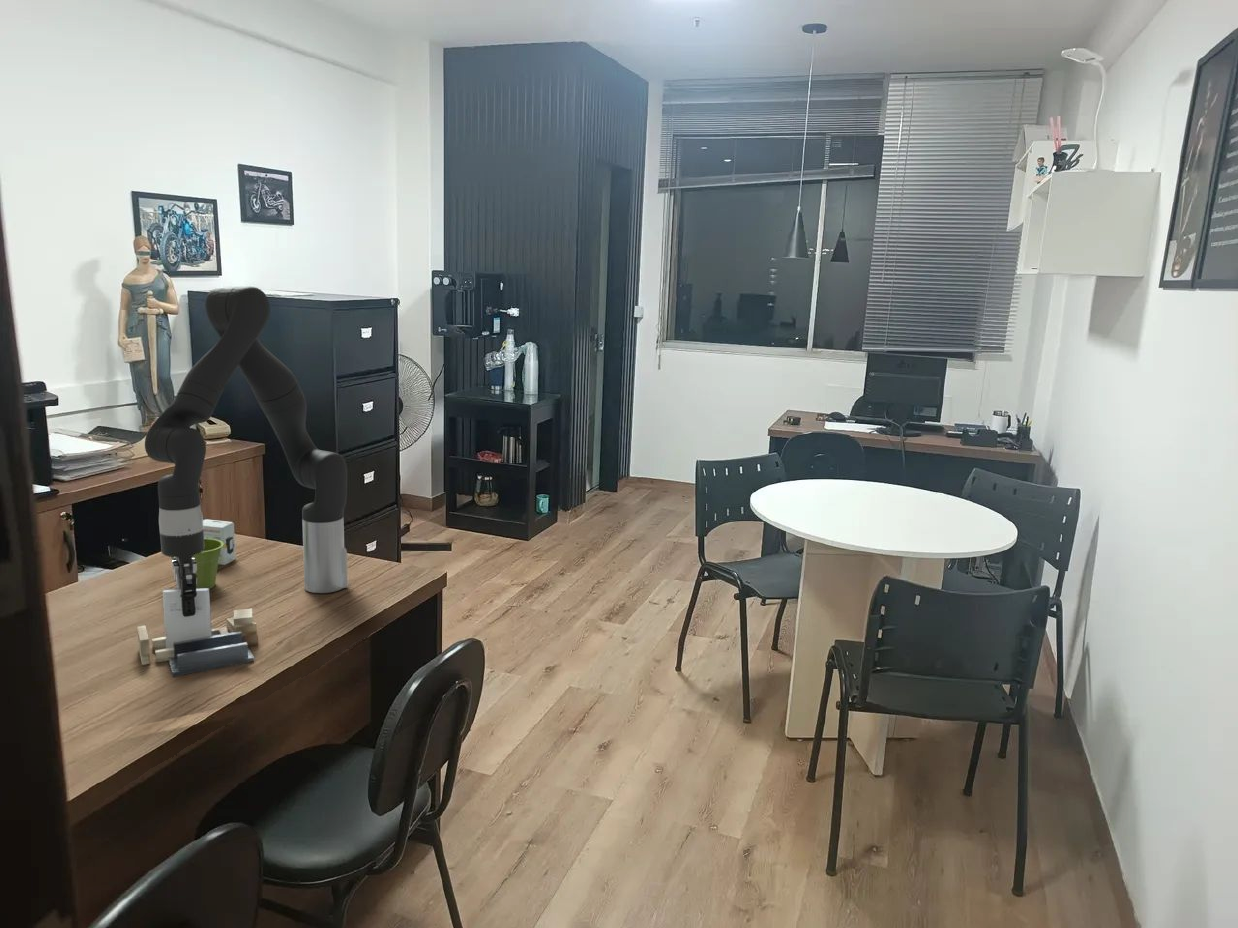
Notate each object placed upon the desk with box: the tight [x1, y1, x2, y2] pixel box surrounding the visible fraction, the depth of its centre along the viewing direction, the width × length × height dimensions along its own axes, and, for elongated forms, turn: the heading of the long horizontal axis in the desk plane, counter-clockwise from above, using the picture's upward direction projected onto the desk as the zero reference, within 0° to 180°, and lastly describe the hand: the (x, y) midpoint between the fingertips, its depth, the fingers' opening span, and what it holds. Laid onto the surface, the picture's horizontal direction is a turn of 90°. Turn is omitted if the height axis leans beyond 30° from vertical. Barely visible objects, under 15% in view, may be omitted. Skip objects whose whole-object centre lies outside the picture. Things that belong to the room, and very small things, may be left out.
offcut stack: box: [226, 607, 259, 647], centre depth 174 cm, size 5×7×6 cm
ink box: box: [203, 518, 236, 566], centre depth 215 cm, size 9×5×12 cm, turn 81°
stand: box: [168, 631, 255, 677], centre depth 164 cm, size 14×7×4 cm, turn 123°
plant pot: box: [170, 538, 224, 590], centre depth 199 cm, size 12×12×11 cm
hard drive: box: [162, 588, 213, 649], centre depth 168 cm, size 2×8×12 cm, turn 104°
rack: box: [136, 625, 228, 666], centre depth 168 cm, size 16×7×5 cm, turn 123°
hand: (188, 612), depth 168 cm, fingers closed
